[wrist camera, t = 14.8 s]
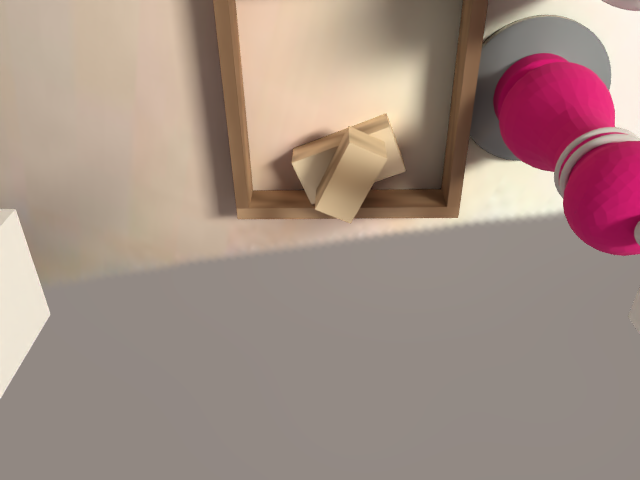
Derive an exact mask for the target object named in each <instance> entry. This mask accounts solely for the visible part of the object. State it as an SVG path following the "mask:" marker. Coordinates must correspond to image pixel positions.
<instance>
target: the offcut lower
mask: <svg viewBox="0 0 640 480" xmlns="http://www.w3.org/2000/svg"><path fill="white" fill-rule="evenodd" d="M352 128H354V129H357V130H359V131H361V132H364V133H366V134H368V135H370V136H373V137H375V138H377V139H380V140H382V141H384V142H385V148H386V153H387V161H386V162H385V164H384V166H383V168H382V169H381V171H380V173H379V175H378V176H377V178H376V180H375V182H377V181H380V180H383V179H386V178H389V177H391V176H394V175H397V174H400V173H403V172H406V170H405V166H404V162H403V158H402V155H401V152H400V149H399V146H398V144H397V141H396V138H395V135H394V133H393V130H392V127H391V124H390V122H389V119H388V116H387V113H386V114H383V115H381V116H378V117H375V118H373V119H370V120H368V121H365V122H362V123H360V124H357V125H354V126H352ZM346 130H347V128H346V129H344V130H341V131H338V132H336V133H333V134H330V135H328V136H325V137H323V138H320V139H317V140H315V141H312V142H309V143H307V144H304V145H301V146H299V147H296V148H293V155H292V165H293V167H294V169H295V171H296V174H297V176H298V178H299V180H300V182H301V184H302V186H303V188H304V190H305V192H306V194H307V196H308V198H309V200H310V203H311V205H312V204H315V200H316V189H317V187H318V185H319V183H320V182H321V180H322V178H323V176H324V174H325V172H326V170H327V168H328V166H329V164H330V162H331V160H332V158H333V156H334V154H335V152H336V150H337V148H338V146H339V144H340V142H341V140H342V138H343V136H344V134H345V132H346Z"/></svg>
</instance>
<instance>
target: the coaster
mask: <svg viewBox="0 0 640 480" xmlns="http://www.w3.org/2000/svg"><path fill="white" fill-rule="evenodd" d="M538 53H551V54H555V55H558V56H561V57H563V58H564V59H566V60H567V61H568V62H571V63H576V64H579V65H582V66H585V67H587V68H588V69H590V70H592V71H593V72H594V73H595V74H597V75H598V77H599V78H600V79H601V80H602V81H603V83H604V84H605V85H606V87H607V89H608V90H609V89H610V83H611V67H610V62H609V57H608V54H607V52H606V50H605V47H604V46H603V44H602V43H601V41H600V40H599V39H598V37H597V36H596V35H595V34H594V33H593V32H591V31H590V30H589V29H588V28H586V27H585V26H583V25H582V24H580V23H578V22H576V21H575V20H572V19H569V18H566V17H562V16H557V15H537V16H532V17H527V18H523V19H521V20H518V21H515V22H513V23H511V24H509V25H507V26H505V27H503V28H502V29H500V30H498V31H497V32H495V33H494V34H493V35H492V36H491V37H489V38H488V39H487V40H486V41H485V42H484V43H483V44H482V50H481V57H480V64H479V71H478V78H477V86H476V93H475V100H474V107H473V114H472V122H471V129H470V136H471V138H472V139H473V140H474V141H475V143H477V144H478V145H479V146H480V147H481V148H482V149H484V150H485V151H487V152H488V153H490V154H492V155H495V156H497V157H500V158H503V159H509V160H518V161H521V160H520V159H519V158H517V157H516V156H515V155H514V154H513V153H512V152H511V151H510V149H509V148H508V147H507V146H506V144H505V143H504V141H503V138H502V136H501V132H500V127H499V120H498V118H497V116H496V114H495V111H494V105H493V97H494V93H495V88H496V86H497V84H498V82H499V80H500V78H501V77H502V75H503V74H504V73H505V71H506V70H507V69H508V68H510V67H511V66H512V65H513V64H514V63H516V62H517V61H519V60H520V59H522V58H524V57H527V56H530V55H533V54H538Z"/></svg>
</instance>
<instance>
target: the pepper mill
mask: <svg viewBox="0 0 640 480" xmlns="http://www.w3.org/2000/svg"><path fill="white" fill-rule="evenodd" d="M493 105H494V111H495V114H496V116H497V118H498V120H499V127H500V132H501V136H502V138H503V141H504V143H505V144H506V146H507V147H508V148H509V149H510V151H511V152H512V153H513V154H514V155H515V156H516V157H517V158H519V159H520V160H521V161H522V162H524V163H526V164H528V165H530V166H532V167H535V168H538V169H541V170H545V171H552V172H554V182H555V186H556V188H557V191H558V192H559V194H560V195H561V196H562V198H563V207H564V214H565V216H566V218H567V221H568V223H569V225H570V227H571V229H572V230H573V231H574V233H575V234H576V235H577V236H578V237H579V238H580V239H581V240H583V241H584V242H585V243H586V244H588V245H590V246H591V247H593V248H595V249H597V250H599V251H602V252H605V253H609V254H613V255H622V256H626V255H635V254H640V139H639V138H638V137H637V136H636V135H635V134H633V133H632V132H630V131H628V130H625V129H622V128H617V127H615V110H614V105H613V101H612V98H611V95H610V92H609V90H608V89H607V87H606V85H605V84H604V83H603V81H602V80H601V79H600V78H599V77H598V75H597V74H595V73H594V72H593V71H592V70H590V69H588V68H587V67H585V66H582V65H579V64H576V63H571V62H568V61H567V60H566V59H564V58H563V57H561V56H558V55H555V54H551V53H538V54H533V55H530V56H527V57H524V58H522V59H520V60H519V61H517V62H516V63H514V64H513V65H512V66H511V67H510V68H508V69H507V70H506V71H505V73H504V74H503V75H502V77H501V78H500V80H499V82H498V84H497V86H496V88H495V93H494V97H493Z"/></svg>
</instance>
